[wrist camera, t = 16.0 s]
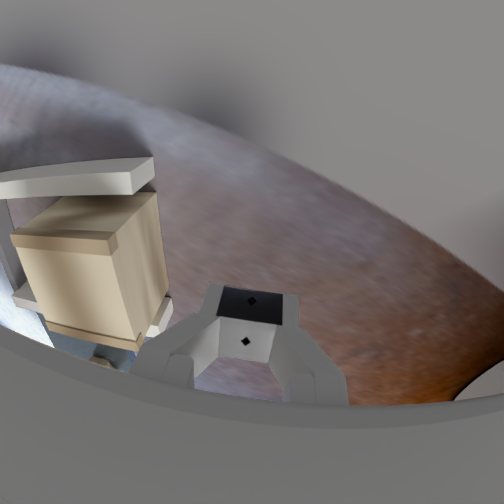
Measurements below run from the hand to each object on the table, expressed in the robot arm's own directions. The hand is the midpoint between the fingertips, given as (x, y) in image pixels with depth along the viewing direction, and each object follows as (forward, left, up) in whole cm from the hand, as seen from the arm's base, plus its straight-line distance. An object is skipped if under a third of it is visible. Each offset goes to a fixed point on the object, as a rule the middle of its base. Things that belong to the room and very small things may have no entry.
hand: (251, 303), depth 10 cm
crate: (+10, +3, -8) cm, 13 cm away
